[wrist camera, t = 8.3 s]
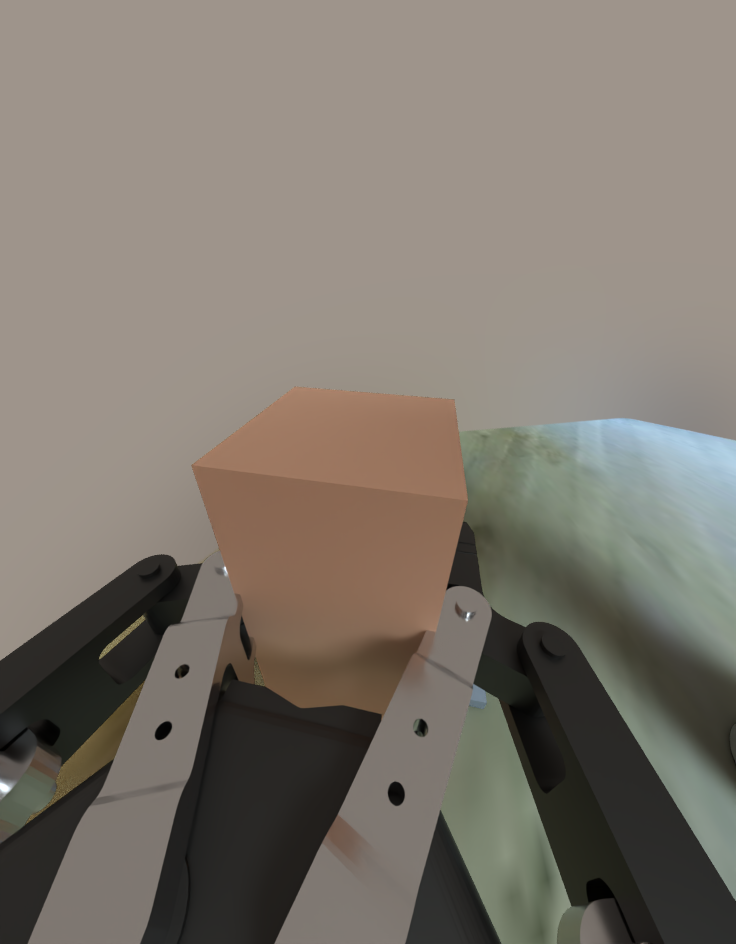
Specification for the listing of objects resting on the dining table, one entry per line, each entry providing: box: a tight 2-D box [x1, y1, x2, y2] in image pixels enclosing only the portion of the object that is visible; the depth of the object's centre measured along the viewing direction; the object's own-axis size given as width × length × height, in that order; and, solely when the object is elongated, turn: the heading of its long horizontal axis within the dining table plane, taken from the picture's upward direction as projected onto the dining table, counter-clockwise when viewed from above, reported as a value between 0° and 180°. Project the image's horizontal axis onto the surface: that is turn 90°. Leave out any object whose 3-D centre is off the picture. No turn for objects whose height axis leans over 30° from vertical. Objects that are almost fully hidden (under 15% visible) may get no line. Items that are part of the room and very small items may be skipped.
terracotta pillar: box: [192, 387, 468, 721], centre depth 11 cm, size 5×5×12 cm
